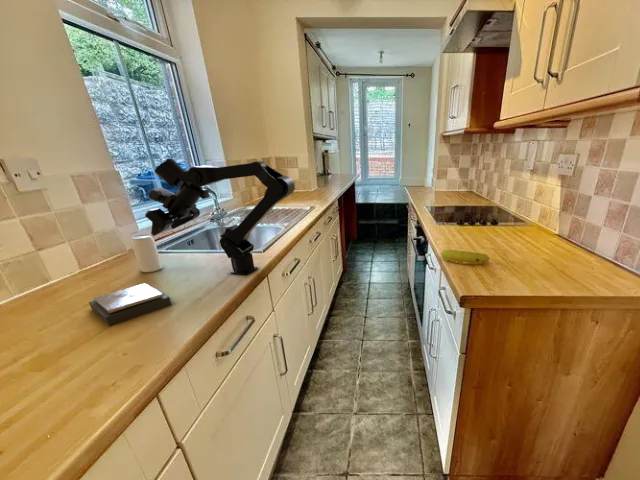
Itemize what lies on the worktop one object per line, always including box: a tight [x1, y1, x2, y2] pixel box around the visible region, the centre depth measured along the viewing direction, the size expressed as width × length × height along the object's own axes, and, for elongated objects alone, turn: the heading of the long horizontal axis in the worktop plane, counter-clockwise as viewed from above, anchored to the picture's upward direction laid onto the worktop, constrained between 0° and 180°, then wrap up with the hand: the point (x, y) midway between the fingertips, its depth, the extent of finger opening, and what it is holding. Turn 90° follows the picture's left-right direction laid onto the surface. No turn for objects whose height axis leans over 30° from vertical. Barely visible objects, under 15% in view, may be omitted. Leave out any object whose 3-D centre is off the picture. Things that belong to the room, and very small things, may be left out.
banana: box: [440, 248, 490, 265], centre depth 120 cm, size 5×17×15 cm
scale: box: [88, 284, 172, 327], centre depth 86 cm, size 14×14×2 cm
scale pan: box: [92, 283, 163, 313], centre depth 85 cm, size 12×12×1 cm
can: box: [130, 233, 163, 274], centre depth 110 cm, size 6×6×12 cm
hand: (162, 231), depth 106 cm, fingers open, 9 cm apart
